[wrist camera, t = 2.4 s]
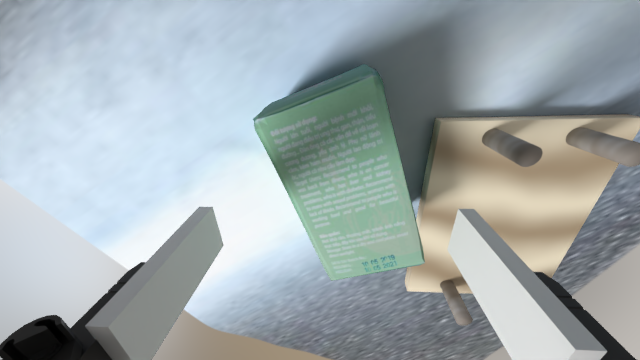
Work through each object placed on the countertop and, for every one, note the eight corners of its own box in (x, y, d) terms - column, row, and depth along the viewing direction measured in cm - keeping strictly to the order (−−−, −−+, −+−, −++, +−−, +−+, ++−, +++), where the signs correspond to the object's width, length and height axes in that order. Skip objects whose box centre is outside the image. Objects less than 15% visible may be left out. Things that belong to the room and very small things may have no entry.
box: (364, 61, 17) (379, 63, 11) (404, 205, 23) (430, 266, 16) (277, 97, 19) (243, 119, 12) (333, 224, 25) (330, 285, 18)
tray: (435, 118, 19) (466, 136, 14) (627, 114, 18) (730, 133, 13) (404, 282, 27) (418, 327, 23) (532, 286, 26) (573, 334, 22)
